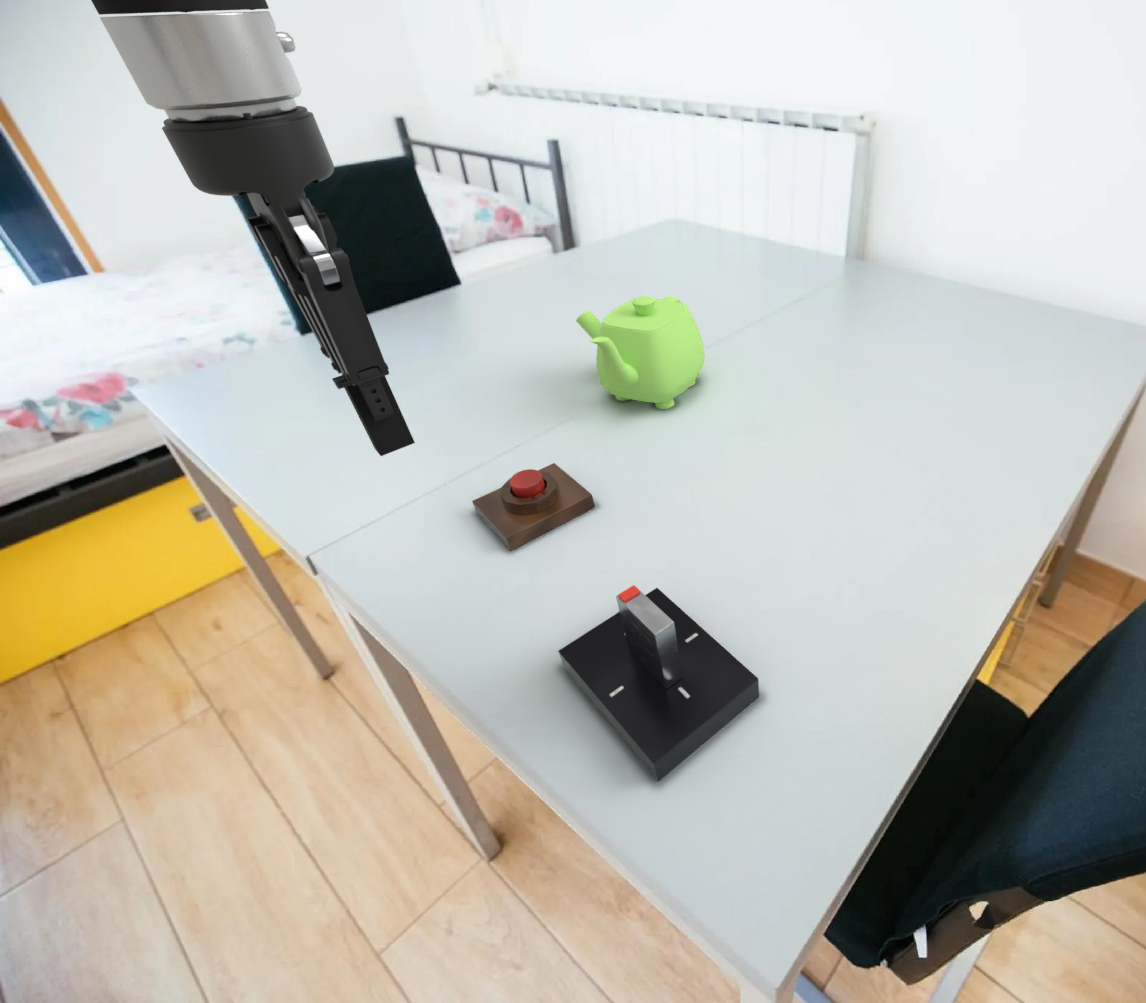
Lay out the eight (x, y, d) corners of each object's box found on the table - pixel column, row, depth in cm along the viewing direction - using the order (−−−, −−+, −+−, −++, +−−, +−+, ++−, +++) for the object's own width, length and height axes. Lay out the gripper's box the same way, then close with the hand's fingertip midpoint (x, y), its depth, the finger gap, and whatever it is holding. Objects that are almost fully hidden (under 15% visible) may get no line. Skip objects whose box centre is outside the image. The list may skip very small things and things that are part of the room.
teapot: (622, 350, 118) (607, 266, 108) (724, 368, 112) (719, 280, 102) (540, 415, 101) (514, 322, 91) (655, 441, 94) (641, 343, 84)
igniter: (511, 551, 76) (502, 527, 74) (476, 513, 82) (467, 490, 79) (595, 507, 82) (589, 483, 80) (557, 475, 88) (551, 452, 86)
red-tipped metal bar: (683, 677, 58) (673, 620, 53) (666, 690, 57) (654, 633, 52) (645, 639, 61) (633, 582, 56) (629, 651, 60) (615, 594, 55)
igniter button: (522, 503, 78) (518, 492, 77) (507, 489, 80) (504, 478, 79) (550, 489, 80) (547, 478, 79) (535, 475, 82) (532, 465, 81)
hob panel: (658, 781, 53) (653, 763, 51) (564, 669, 63) (557, 649, 61) (759, 697, 60) (758, 677, 58) (660, 605, 69) (656, 586, 67)
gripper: (337, 110, 34) (472, 459, 49) (280, 93, 41) (412, 400, 56) (172, 129, 30) (373, 502, 45) (142, 106, 38) (323, 432, 53)
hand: (394, 445), depth 51 cm, fingers closed
